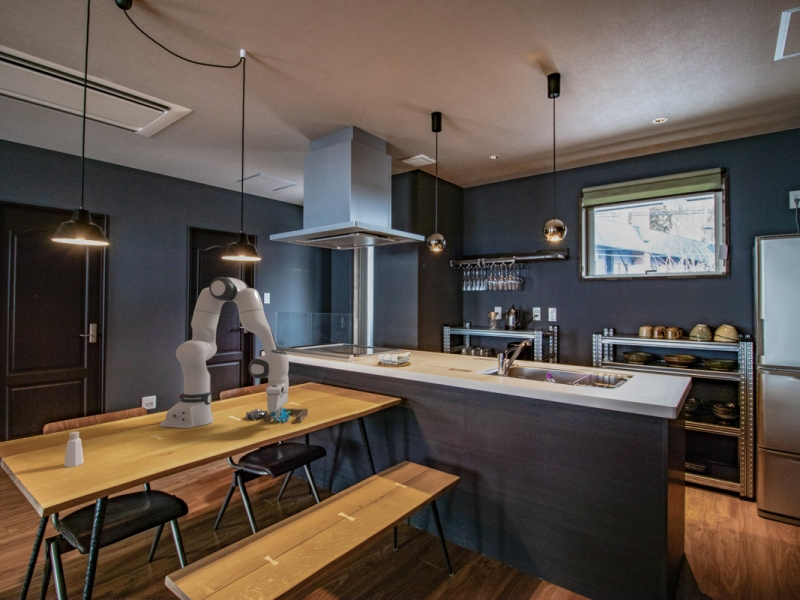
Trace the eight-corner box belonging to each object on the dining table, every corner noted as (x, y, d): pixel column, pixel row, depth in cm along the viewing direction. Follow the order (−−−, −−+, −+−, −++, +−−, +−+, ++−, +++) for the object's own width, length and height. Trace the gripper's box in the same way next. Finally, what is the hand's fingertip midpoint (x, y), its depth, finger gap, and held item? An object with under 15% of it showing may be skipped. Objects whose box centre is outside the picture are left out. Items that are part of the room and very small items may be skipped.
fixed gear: (242, 420, 201) (242, 412, 201) (250, 414, 211) (250, 406, 211) (264, 420, 201) (264, 412, 201) (270, 414, 211) (270, 406, 211)
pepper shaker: (87, 461, 149) (87, 430, 149) (76, 467, 143) (76, 434, 144) (71, 461, 149) (72, 430, 149) (59, 467, 143) (60, 434, 143)
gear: (275, 422, 193) (268, 404, 198) (269, 429, 195) (262, 411, 200) (295, 420, 201) (287, 403, 206) (288, 427, 203) (281, 410, 208)
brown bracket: (264, 422, 197) (264, 416, 197) (273, 414, 212) (273, 408, 212) (300, 423, 197) (300, 416, 197) (307, 414, 212) (307, 408, 212)
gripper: (278, 381, 201) (278, 410, 201) (264, 390, 180) (264, 423, 180) (291, 381, 201) (291, 411, 201) (279, 390, 180) (279, 423, 180)
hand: (278, 416), depth 190 cm, fingers closed
